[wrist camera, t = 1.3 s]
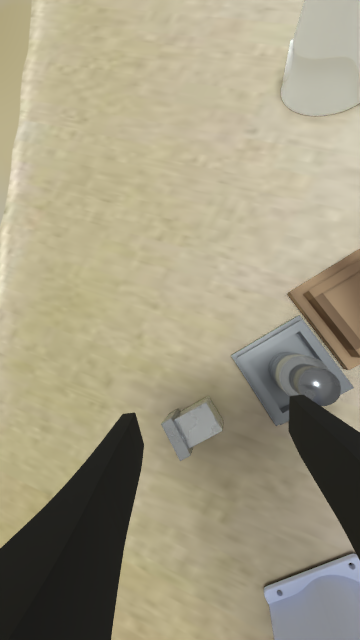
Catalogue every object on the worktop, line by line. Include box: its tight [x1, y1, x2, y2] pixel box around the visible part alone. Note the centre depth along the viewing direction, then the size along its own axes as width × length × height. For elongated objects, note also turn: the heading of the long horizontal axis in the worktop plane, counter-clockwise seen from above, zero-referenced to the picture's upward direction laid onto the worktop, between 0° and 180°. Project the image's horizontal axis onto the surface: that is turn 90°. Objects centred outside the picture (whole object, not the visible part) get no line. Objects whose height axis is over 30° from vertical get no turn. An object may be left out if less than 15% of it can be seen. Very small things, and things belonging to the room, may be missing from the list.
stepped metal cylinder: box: [269, 352, 341, 406], centre depth 17 cm, size 4×4×8 cm
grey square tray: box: [231, 315, 354, 426], centre depth 20 cm, size 8×8×2 cm
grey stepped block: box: [161, 396, 223, 461], centre depth 21 cm, size 5×4×3 cm
